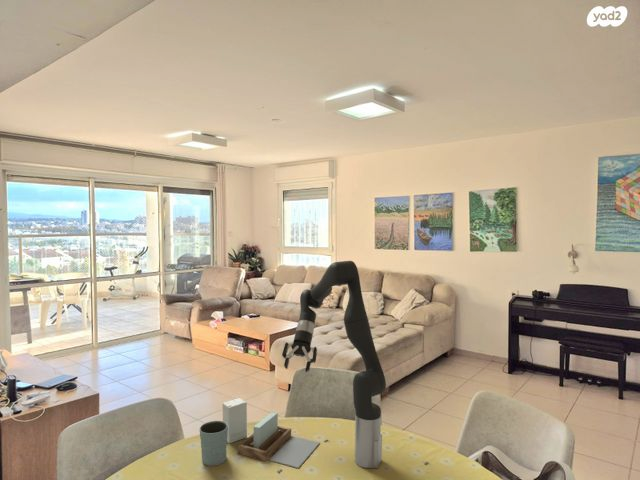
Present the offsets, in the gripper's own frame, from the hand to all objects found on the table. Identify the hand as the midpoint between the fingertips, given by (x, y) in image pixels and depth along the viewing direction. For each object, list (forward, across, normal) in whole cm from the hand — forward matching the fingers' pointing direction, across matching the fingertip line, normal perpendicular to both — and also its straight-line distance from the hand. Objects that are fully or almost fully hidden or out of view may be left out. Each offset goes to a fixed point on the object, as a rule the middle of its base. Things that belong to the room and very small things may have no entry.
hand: (296, 369), depth 169 cm
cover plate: (+28, -7, +8) cm, 30 cm away
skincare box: (+28, -21, +11) cm, 37 cm away
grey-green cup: (+38, -23, -2) cm, 44 cm away
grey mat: (+29, +6, +5) cm, 30 cm away
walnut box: (+28, -7, +8) cm, 30 cm away
